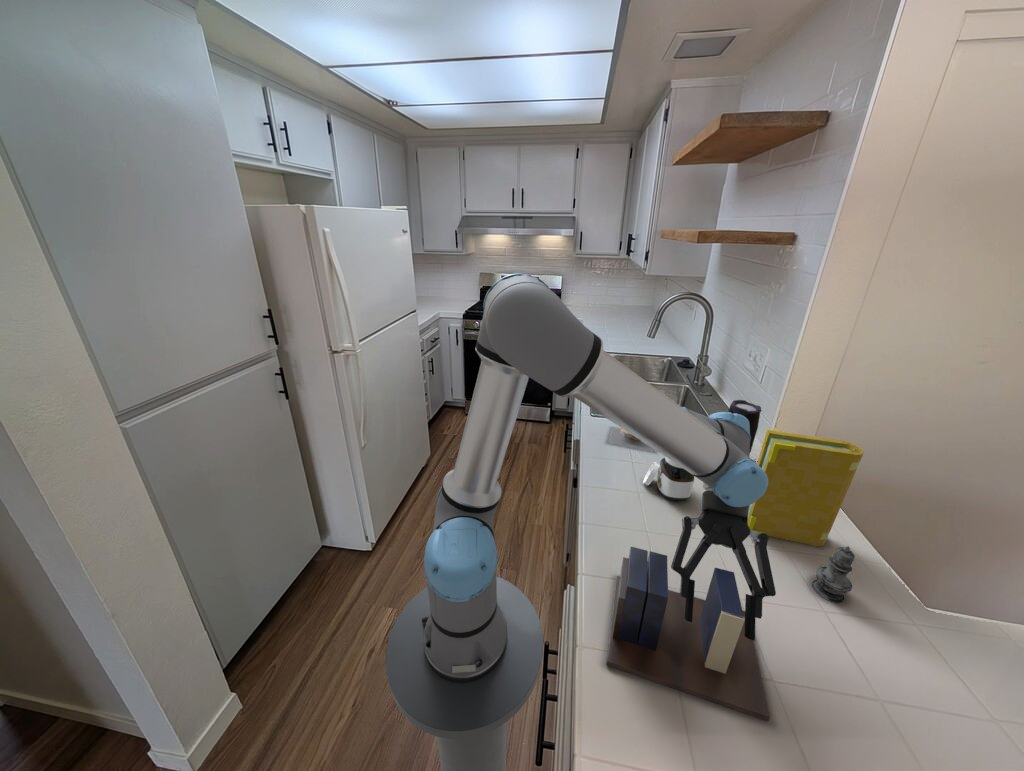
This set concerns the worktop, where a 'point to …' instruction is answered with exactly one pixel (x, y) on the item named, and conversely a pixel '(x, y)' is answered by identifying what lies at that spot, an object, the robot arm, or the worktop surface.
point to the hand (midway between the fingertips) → (718, 629)
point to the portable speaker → (747, 415)
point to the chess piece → (835, 576)
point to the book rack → (675, 640)
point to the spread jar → (671, 479)
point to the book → (802, 486)
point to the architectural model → (627, 440)
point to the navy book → (721, 620)
